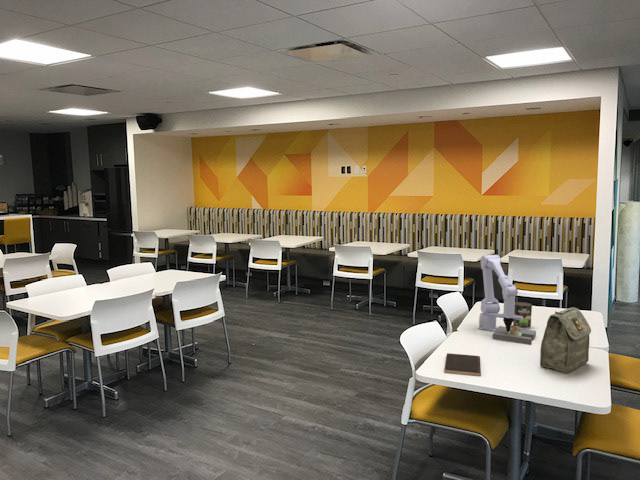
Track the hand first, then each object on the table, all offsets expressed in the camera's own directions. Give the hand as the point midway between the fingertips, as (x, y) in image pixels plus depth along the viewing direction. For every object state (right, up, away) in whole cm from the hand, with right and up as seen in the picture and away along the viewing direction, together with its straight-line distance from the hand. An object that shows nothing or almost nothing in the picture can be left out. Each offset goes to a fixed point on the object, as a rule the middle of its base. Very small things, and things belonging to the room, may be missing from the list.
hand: (508, 331), depth 294 cm
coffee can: (+16, -1, +23) cm, 28 cm away
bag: (+12, -9, -42) cm, 45 cm away
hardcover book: (-37, -10, -43) cm, 57 cm away
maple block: (+3, -1, -2) cm, 4 cm away
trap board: (+4, -4, +2) cm, 6 cm away
